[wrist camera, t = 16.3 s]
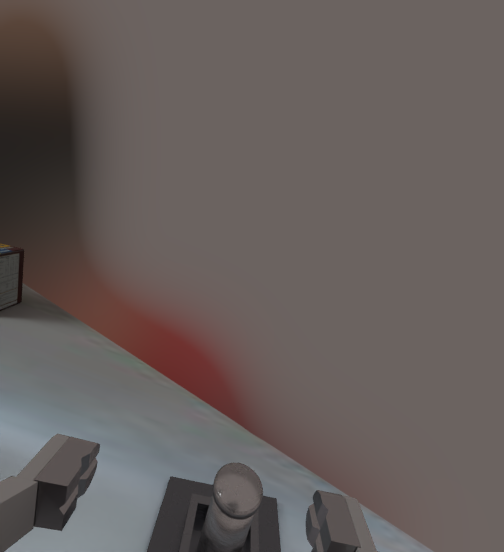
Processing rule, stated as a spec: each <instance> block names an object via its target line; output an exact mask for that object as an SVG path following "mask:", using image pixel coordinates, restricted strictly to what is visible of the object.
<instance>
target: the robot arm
mask: <svg viewBox="0 0 504 552" xmlns="http://www.w3.org/2000/svg"><path fill="white" fill-rule="evenodd" d="M99 448H100V444H98V443H94V442H90V441H86V440H82V439H78V438H74V437H69V436H65V435H61V434H56V435H55V436H53V437H52V438H51V439H50V440H49V441H48V442H47V443H46V445H45V446H44V447H43V448H42V449H41V450H40V451H39V452H38V453H37V454H36V456H35V457H34V458H33V459H32V460H31V461H30V462H29V463H28V464H27V465H26V467H25V468H24V469H23V470H22V471H21V472H20V473H19V474H18V475H17V476H16V477H13V476H11V477H9V478H7V479H5V480H3V481H1V482H0V552H4V551H5V550H7V549H8V548H9V547H10V546H12V545H13V544H14V543H15V542H17V541H18V540H19V539H21V538H22V537H23V536H24V535H26V534H27V533H28V532H30V531H31V530H32V529H33V527H41V528H47V529H53V530H59V531H62V529H63V528H64V526H65V525H66V523H67V521H68V520H69V518H70V516H71V515H72V513H73V512H74V510H75V508H76V503H77V498H79V497H80V496H82V495H83V494H84V493H85V492H86V490H87V488H88V487H89V485H90V483H91V481H92V479H93V476H94V474H95V471H96V468H97V460H96V458H95V457H96V456H97V454H98V453H99ZM313 502H314V503H313V504H312V505H310V506H309V508H308V511H307V513H306V535H307V540H308V542H309V543H310V545H311V546H312V548H313V549H312V551H311V552H378V551H376V548H375V545H374V543H373V540H372V537H371V535H370V532H369V529H368V526H367V524H366V521H365V518H364V516H363V513H362V510H361V508H360V505H359V502H358V501H357V499H356V498H352V497H347V496H342V495H339V494H334V493H329V492H324V491H319V490H317V491H315V493H314V495H313Z"/></svg>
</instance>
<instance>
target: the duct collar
mask: <svg viewBox="0 0 504 552" xmlns="http://www.w3.org/2000/svg"><path fill="white" fill-rule="evenodd" d="M212 494H213V485H209V484H205V483H200V482H195V481H190V480H186V479H181V478H176V477H170V480H169V483H168V486H167V489H166V493H165V496H164V499H163V502H162V505H161V508H160V511H159V515H158V518H157V521H156V524H155V527H154V530H153V534H152V537H151V540H150V543H149V546H148V549H147V552H196V549H197V546H198V542H199V539H200V535H201V532H202V528H203V525H204V521H205V518H206V514H207V511H208V508H209V504H210V501H211V497H212ZM242 552H281V549H280V537H279V524H278V512H277V499H276V498H271V497H266V496H262V500H261V503H260V506H259V508H258V510H257V511H256V513H255V514H254V517H253V520H252V523H251V526H250V529H249V532H248V535H247V538H246V541H245V543H244V546H243V549H242Z"/></svg>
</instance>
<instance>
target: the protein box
mask: <svg viewBox="0 0 504 552" xmlns="http://www.w3.org/2000/svg"><path fill="white" fill-rule="evenodd" d="M23 262H24V249H21V248H17V247H12V246H8V245H3V244H0V310H3V309H5V308H8V307H10V306H13V305H15V304H18V303H20V302H21V300H22V279H23Z"/></svg>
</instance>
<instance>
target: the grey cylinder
mask: <svg viewBox="0 0 504 552" xmlns="http://www.w3.org/2000/svg"><path fill="white" fill-rule="evenodd" d="M262 495H263V488H262V484H261V481H260V479H259V477H258V475H257V474H256V473H255V472H254V471H253V470H252V469H251V468H250V467H248V466H246V465H244V464H241V463H229V464H226V465H225V466H223V467H222V468H221V469H220V470H219V471H218V472H217V474H216V477H215V480H214V484H213V494H212V497H211V501H210V504H209V508H208V511H207V514H206V518H205V521H204V525H203V528H202V532H201V535H200V539H199V542H198V546H197V549H196V552H242V549H243V546H244V543H245V541H246V538H247V535H248V532H249V529H250V526H251V523H252V520H253V517H254V514H255V513H256V511H257V510H258V508H259V506H260V503H261V500H262Z"/></svg>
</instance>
